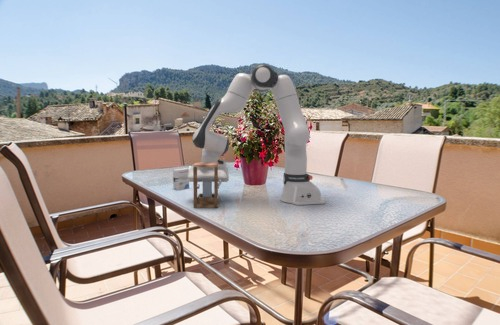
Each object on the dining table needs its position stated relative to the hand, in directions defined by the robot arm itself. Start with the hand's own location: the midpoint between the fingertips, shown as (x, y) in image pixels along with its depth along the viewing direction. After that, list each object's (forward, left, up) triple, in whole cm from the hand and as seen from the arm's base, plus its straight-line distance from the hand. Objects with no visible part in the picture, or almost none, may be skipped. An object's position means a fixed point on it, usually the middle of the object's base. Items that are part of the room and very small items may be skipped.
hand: (207, 188), depth 144 cm
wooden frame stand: (0, 0, -8) cm, 8 cm away
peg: (0, 0, -7) cm, 7 cm away
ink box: (+19, -34, -8) cm, 40 cm away
